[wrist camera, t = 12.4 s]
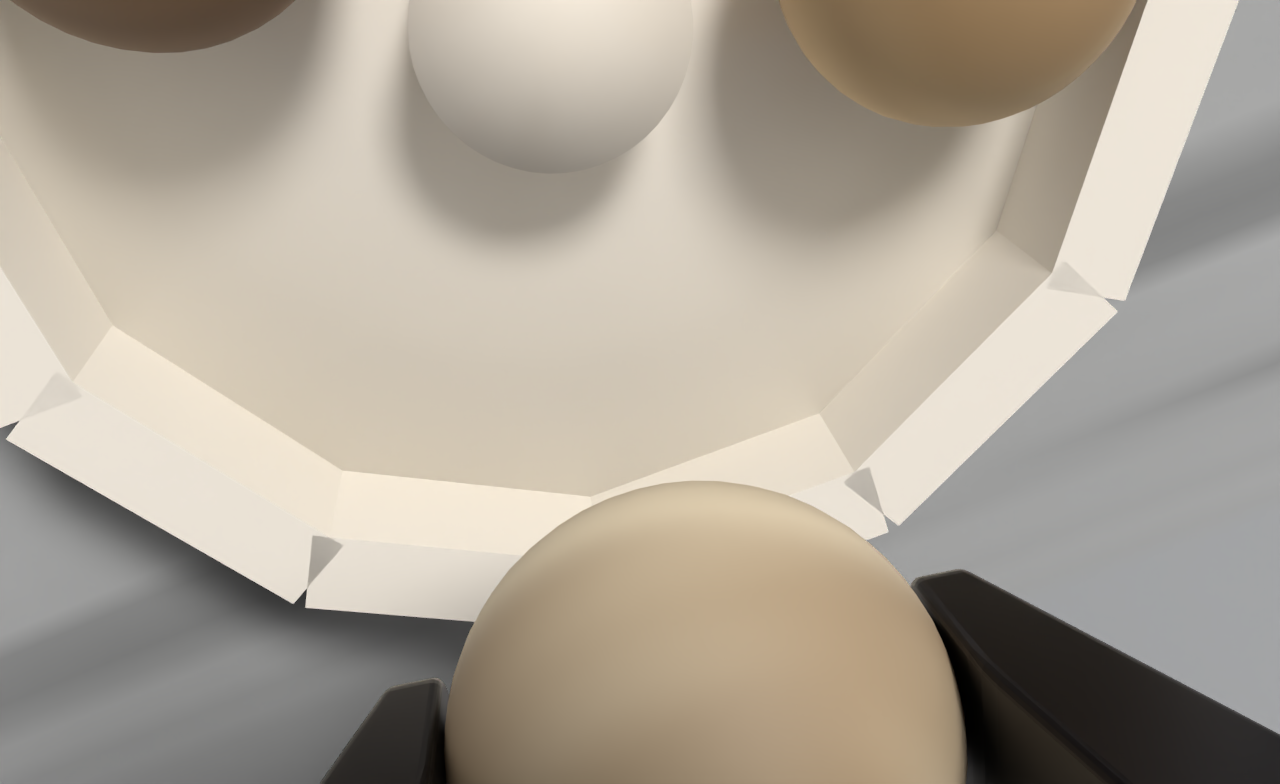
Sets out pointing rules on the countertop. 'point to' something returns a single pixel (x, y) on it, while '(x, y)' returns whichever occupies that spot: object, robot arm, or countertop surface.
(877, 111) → the oak bead
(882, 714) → the maple bead
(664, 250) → the groove tray
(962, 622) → the robot arm
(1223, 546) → the countertop surface
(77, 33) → the walnut bead
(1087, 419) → the countertop surface
